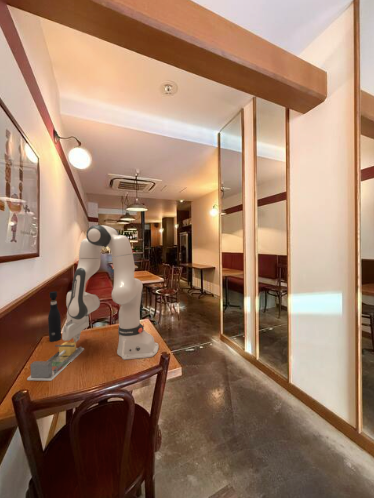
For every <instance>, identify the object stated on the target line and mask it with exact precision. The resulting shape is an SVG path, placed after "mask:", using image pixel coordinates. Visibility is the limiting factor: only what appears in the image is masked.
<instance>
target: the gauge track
mask: <svg viewBox="0 0 374 498" xmlns="http://www.w3.org/2000/svg"><path fill="white" fill-rule="evenodd" d="M84 350H85V348H84V347H82V346H79V347H76V351H75V352H73V353H72V354H71V355H70V356H60V357H59V356H58V355H59V351H58V352H56V353H55V354H54V355H52V356H51V357H49V358H48V360H46V361H45V360H44V361H42V360H41V361H39V360H37V361H36V360H35V361H33V362H31V363H30V365H29V366H30V375H29V376H28V377H27V378H26V380H27V381H43V382H44V381H46V382H47V381H48V382H49V381H53V380H54V379H55V378H57V376H58V375H59V374H60V373H61V372H62V371H63V370H64V369H65V368H67V367H68V366H69V365H70V364H71V363H72V362H73V361H74V360H75V359H76V358H77V357H78V356H79V355H80V354H81V353H83V351H84ZM70 362H71V363H70ZM69 363H70V364H69ZM68 364H69V365H68ZM67 365H68V366H67Z"/></svg>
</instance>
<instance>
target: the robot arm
mask: <svg viewBox="0 0 374 498" xmlns="http://www.w3.org/2000/svg"><path fill="white" fill-rule="evenodd" d="M85 235H86V237H85V238H84V239H82V240H81V242H80V244H79V245H80V246H79V250H78V263H77V268H76V270H75V272H74V275H73V279H72V286H71V290H69V291H68V292H67V294H66V298H65V299H66V300H65V304H66V308H67V310H66V311H67V312H66V322H65V324H64V326H63V327H62V331H61V339H62V341H64V342H70V341H71V340H72V339H73V342H76V343H77V342H78V341H80V336H81V335H82V334H81V332H82V331H83V330H85V329H86V328H87V327H89V323H90V322H89V320H90V319H89V315H90V314H91V313H92V312H94V311H96V310H98V309H99V307H100V305H101V299H100V297H98V295H96V294H91V293H89V292H86V285H87V283H88V280H90V278H91V277H92V276H93V275H94V274H96V273H97V272H98V271H99V269H100V267H101V263H102V262H101V261H102V260H101V257H102V256H101V255H102V254H101V252H102V249H103V248H104V247H105V248H106V247H108V249H109V251H110V255H111V259H112V260H111V261H112V266H113V287H112V288H113V289H112V290H111V299H112V301H113V302H114V303H116V304H118V305H120V306H119V310H118V327H117V329H118V331H117V334H118V345H117V351H116V355H118V356H119V357H121V359H122V360H134V359H135V360H136V359H144V358H152V357H154V356H155V355H157V352H158V351H159V343H158V342H155V339H154V336H153V335H152V334H150V333H149V332H147V331H146V330H144V327H145V324H144V323H143V324H142V323H141V315H140V311H141V310H140V309H141V308H140V307H141V301H142V294H143V287H144V286H143V282H142V281H141V280H140V279H139V278H136V277H135V270H136V265H135V258H134V253H133V249H132V245H131V243H130V239H129V238H128V237H127V235H123V234H122V235H121V234H120V232H119V231H118V230H117V229H116V228H115V227H113V226H108V225H101V224H96V225H95V224H94V225H92V226H90V227H89V228H88V229H87V231H86V233H85Z"/></svg>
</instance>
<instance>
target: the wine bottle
mask: <svg viewBox="0 0 374 498" xmlns="http://www.w3.org/2000/svg"><path fill="white" fill-rule="evenodd" d="M57 297H58V291H56V290H54V291H50V292H49V299H50V304H49V305H50V306H49V308H50V310H49V313H48V315H47V316H48V317H47V323H48V325H47V326H48V339H49V342H50V343H54V342H57V341H60V340H61V339H62V324H61V314H60V310H59V308H58V302H57Z"/></svg>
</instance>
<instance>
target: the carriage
mask: <svg viewBox="0 0 374 498" xmlns="http://www.w3.org/2000/svg"><path fill="white" fill-rule="evenodd" d="M54 347H57V348H58V352H59V355H58V356H59V357H60V356H70V355H71V354H72V353H73V352H75V351H76V348H77V342H74V341H64V342H63V343H61V344H55V345H54Z"/></svg>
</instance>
